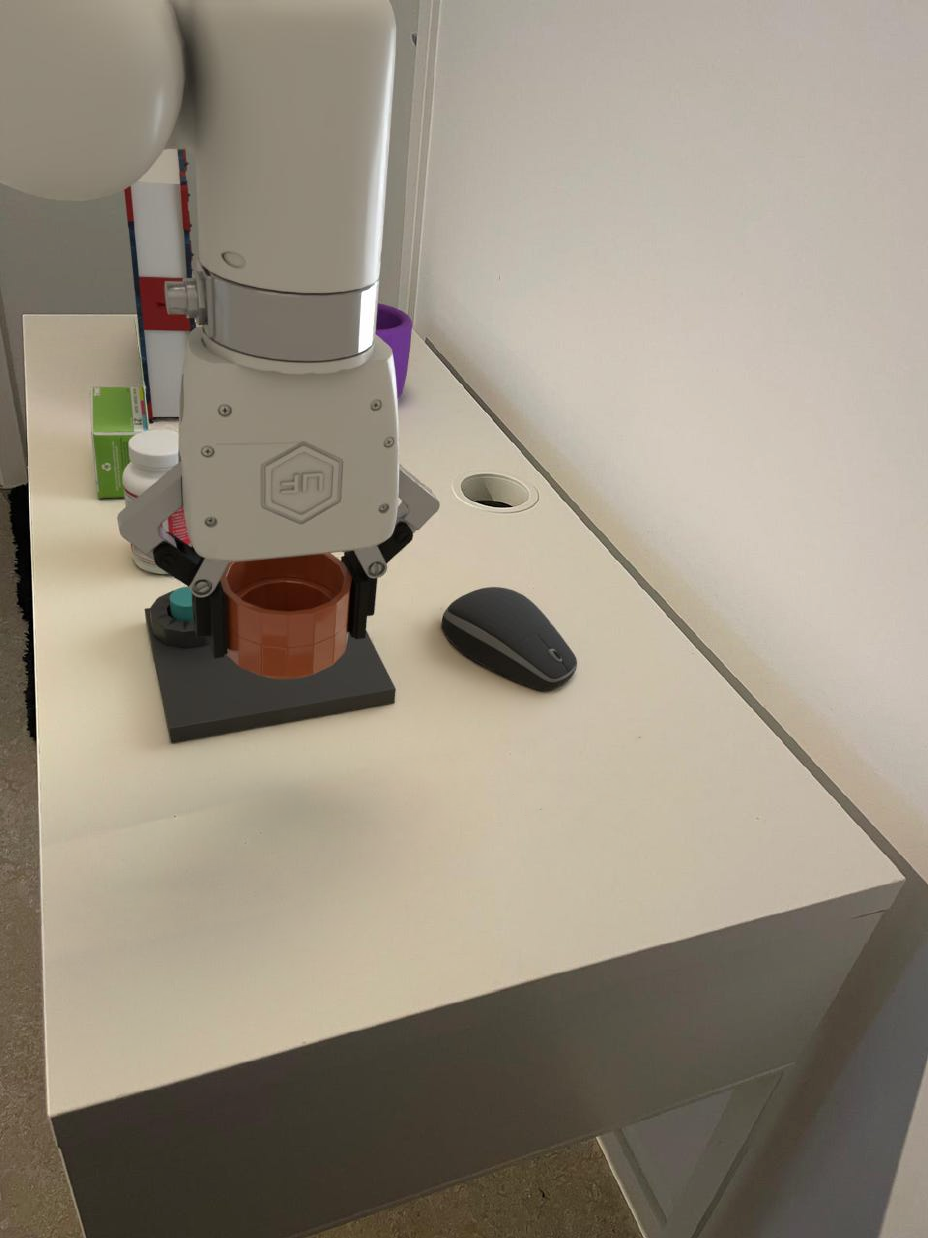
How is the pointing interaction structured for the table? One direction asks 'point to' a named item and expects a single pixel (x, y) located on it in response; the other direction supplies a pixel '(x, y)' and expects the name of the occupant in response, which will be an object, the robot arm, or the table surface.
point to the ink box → (115, 431)
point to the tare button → (181, 604)
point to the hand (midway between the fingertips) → (285, 631)
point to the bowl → (287, 614)
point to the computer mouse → (509, 637)
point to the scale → (251, 683)
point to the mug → (395, 339)
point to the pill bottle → (152, 482)
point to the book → (161, 275)
